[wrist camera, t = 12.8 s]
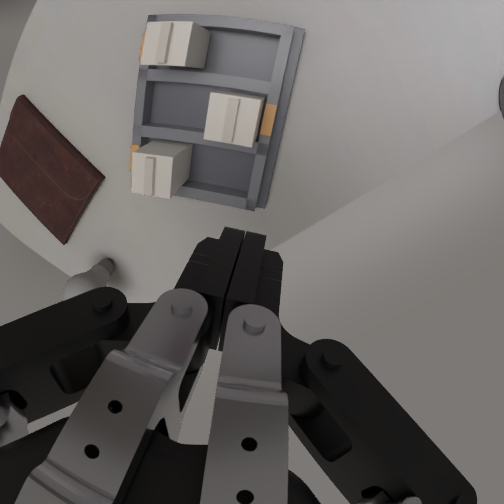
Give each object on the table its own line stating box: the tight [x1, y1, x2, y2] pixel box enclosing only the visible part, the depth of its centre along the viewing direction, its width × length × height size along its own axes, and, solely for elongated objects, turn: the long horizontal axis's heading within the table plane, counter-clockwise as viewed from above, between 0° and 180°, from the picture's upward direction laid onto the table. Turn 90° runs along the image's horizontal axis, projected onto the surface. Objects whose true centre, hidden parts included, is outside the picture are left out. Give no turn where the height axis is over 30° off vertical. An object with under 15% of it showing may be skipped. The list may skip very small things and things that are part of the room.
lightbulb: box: [63, 259, 114, 301], centre depth 36 cm, size 6×6×11 cm
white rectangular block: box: [204, 90, 266, 148], centre depth 24 cm, size 4×4×7 cm
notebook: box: [0, 95, 105, 245], centre depth 33 cm, size 15×20×2 cm
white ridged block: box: [140, 21, 211, 69], centre depth 20 cm, size 4×4×7 cm
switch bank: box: [130, 14, 305, 211], centre depth 26 cm, size 16×20×4 cm
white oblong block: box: [132, 138, 193, 199], centre depth 27 cm, size 4×4×7 cm
